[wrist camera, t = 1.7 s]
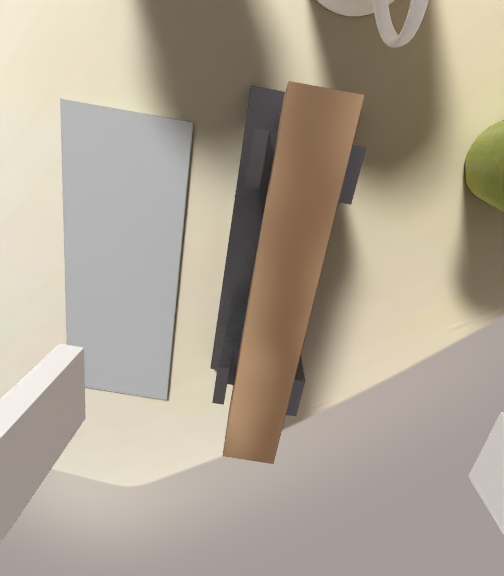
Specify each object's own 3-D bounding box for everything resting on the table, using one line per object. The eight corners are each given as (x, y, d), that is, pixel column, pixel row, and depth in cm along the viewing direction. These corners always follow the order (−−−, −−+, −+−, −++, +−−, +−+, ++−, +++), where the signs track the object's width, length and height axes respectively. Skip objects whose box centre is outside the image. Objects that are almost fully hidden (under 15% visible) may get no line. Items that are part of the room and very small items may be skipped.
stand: (211, 362, 35) (193, 433, 27) (251, 87, 27) (244, 59, 18) (292, 375, 36) (300, 450, 27) (358, 107, 27) (401, 87, 18)
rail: (229, 405, 29) (222, 456, 24) (283, 96, 21) (288, 81, 16) (272, 412, 29) (273, 463, 24) (342, 106, 21) (364, 94, 16)
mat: (70, 382, 37) (67, 384, 37) (63, 99, 27) (60, 98, 27) (167, 397, 37) (166, 400, 37) (193, 122, 28) (192, 122, 27)
